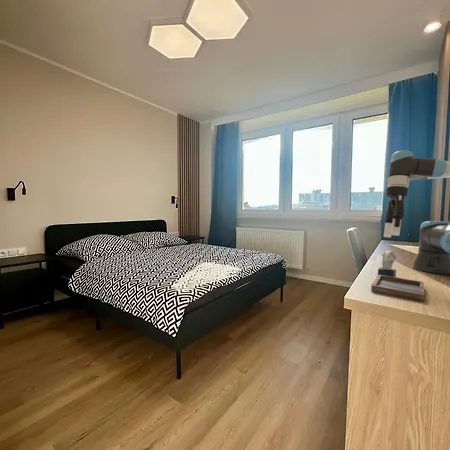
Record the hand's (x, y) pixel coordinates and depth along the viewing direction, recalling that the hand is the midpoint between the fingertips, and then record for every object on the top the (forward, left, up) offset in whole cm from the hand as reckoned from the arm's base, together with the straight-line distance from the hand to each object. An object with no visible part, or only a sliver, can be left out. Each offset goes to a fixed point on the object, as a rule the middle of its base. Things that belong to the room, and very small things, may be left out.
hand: (390, 236), depth 104 cm
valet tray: (+9, +19, -17) cm, 27 cm away
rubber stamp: (+2, +2, -17) cm, 17 cm away
